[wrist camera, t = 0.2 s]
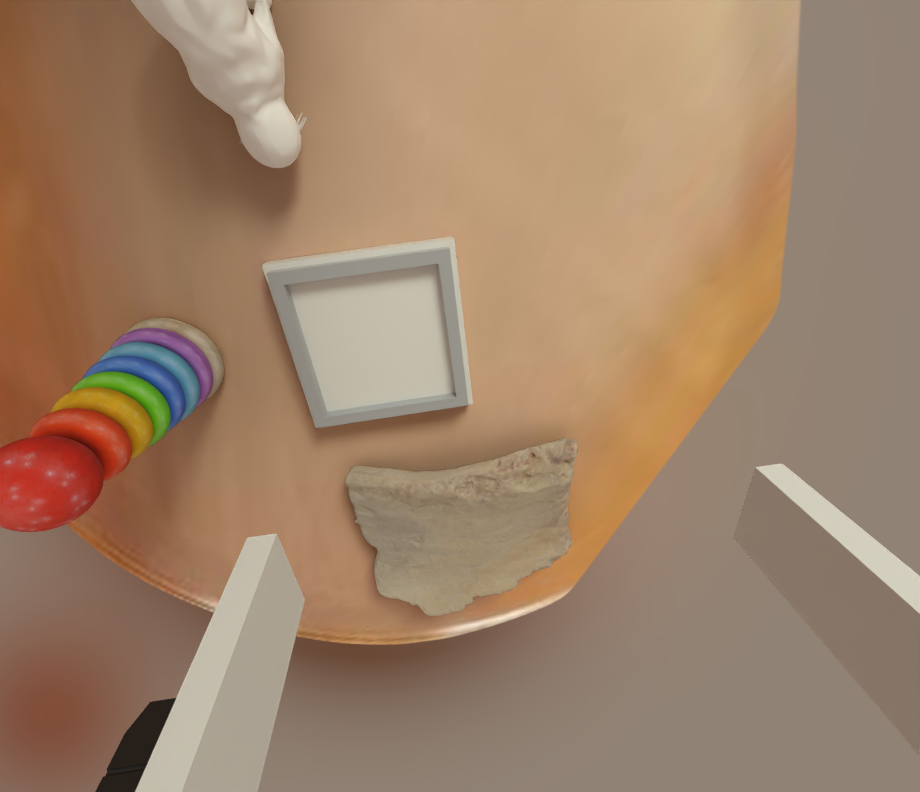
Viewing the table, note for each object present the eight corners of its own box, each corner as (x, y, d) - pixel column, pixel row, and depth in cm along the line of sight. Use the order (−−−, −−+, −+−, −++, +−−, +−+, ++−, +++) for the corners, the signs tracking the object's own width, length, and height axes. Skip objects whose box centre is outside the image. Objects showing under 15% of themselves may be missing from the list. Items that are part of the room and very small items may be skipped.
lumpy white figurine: (186, -155, 18) (317, 158, 25) (245, -78, 25) (334, 148, 32) (50, -102, 18) (216, 193, 25) (146, -41, 25) (255, 176, 32)
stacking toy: (131, 390, 38) (-82, 560, 21) (123, 305, 34) (-140, 429, 18) (226, 406, 40) (96, 574, 23) (228, 325, 36) (75, 457, 20)
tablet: (565, 547, 55) (576, 425, 44) (583, 602, 49) (601, 477, 38) (378, 569, 55) (341, 452, 43) (373, 627, 48) (328, 509, 37)
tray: (267, 261, 34) (257, 267, 32) (452, 236, 34) (455, 240, 32) (318, 419, 41) (313, 433, 39) (470, 396, 42) (474, 409, 39)
